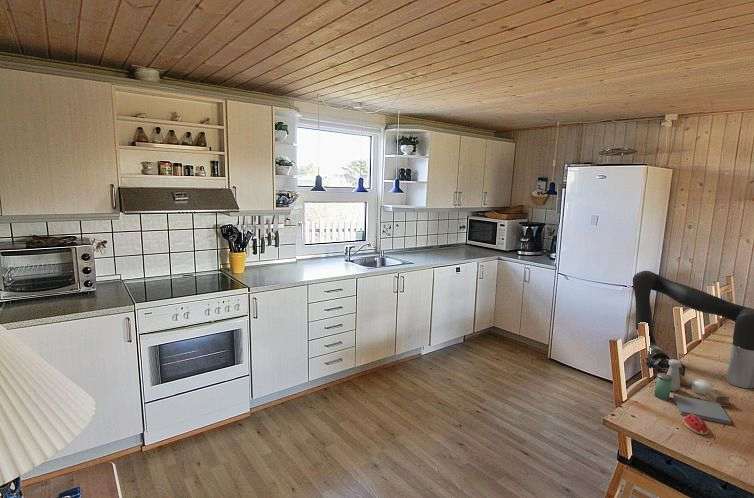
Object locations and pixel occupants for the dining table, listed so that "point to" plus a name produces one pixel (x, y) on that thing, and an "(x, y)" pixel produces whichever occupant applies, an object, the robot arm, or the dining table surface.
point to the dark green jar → (663, 386)
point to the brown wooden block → (717, 397)
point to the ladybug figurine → (695, 424)
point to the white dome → (701, 386)
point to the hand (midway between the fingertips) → (671, 372)
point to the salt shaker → (674, 374)
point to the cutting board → (701, 409)
